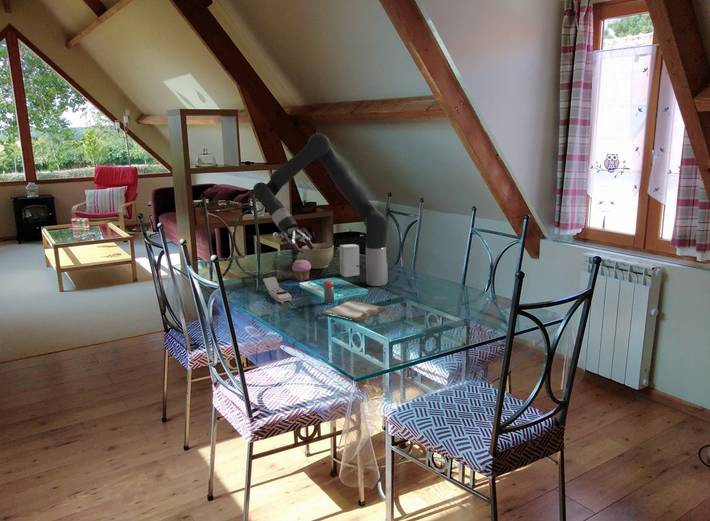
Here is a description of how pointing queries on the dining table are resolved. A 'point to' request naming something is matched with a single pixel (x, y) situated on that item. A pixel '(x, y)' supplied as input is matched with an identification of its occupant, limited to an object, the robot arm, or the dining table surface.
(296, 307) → the dining table surface
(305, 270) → the cupcake
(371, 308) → the clipboard
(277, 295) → the mobile phone
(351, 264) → the skincare box
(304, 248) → the planter bowl
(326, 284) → the grey and red cylinder
